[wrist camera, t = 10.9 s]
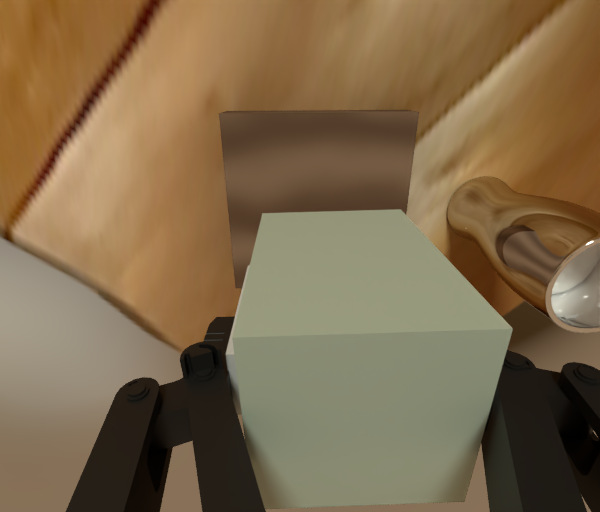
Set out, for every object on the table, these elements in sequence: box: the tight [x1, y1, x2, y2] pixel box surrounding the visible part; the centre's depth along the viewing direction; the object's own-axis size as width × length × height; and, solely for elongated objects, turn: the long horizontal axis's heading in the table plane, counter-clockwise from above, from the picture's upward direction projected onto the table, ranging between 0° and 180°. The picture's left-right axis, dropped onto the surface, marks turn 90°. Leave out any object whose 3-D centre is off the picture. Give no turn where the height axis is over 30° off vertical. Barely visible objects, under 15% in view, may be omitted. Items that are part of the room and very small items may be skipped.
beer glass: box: [447, 176, 600, 333], centre depth 27 cm, size 7×7×15 cm
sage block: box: [232, 209, 513, 509], centre depth 15 cm, size 7×7×10 cm
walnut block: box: [219, 110, 419, 288], centre depth 32 cm, size 15×15×4 cm
